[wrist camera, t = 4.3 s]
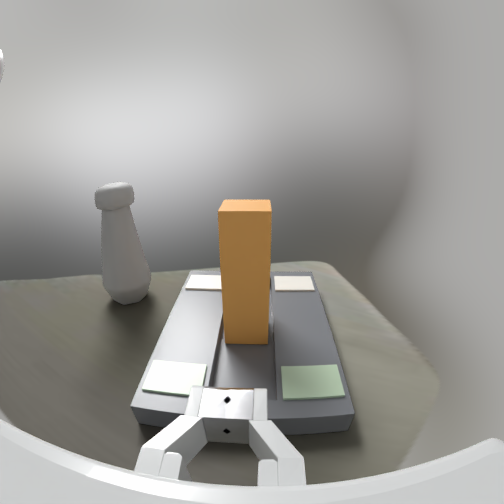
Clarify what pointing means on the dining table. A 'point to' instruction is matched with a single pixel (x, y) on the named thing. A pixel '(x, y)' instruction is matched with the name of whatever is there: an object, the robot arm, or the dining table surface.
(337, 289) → the dining table surface
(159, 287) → the dining table surface
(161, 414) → the panel
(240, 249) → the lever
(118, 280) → the salt shaker
